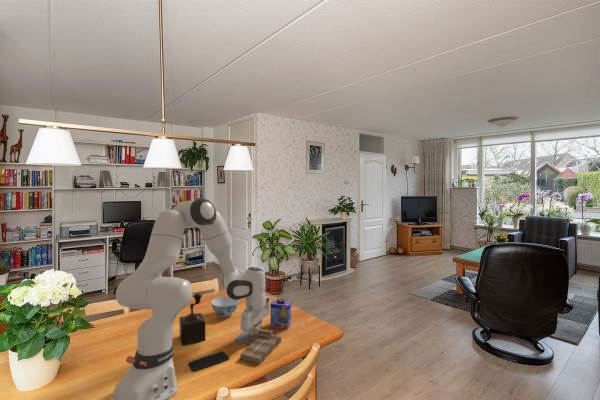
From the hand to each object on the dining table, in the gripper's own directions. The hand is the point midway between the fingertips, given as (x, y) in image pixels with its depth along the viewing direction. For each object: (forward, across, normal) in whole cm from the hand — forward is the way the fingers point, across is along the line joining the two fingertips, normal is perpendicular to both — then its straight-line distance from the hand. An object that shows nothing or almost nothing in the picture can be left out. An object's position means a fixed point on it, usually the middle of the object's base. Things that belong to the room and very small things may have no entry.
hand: (255, 331), depth 140 cm
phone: (+4, -23, +8) cm, 25 cm away
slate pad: (+4, 0, +3) cm, 5 cm away
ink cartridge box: (+4, +17, -5) cm, 18 cm away
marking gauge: (+3, 0, -3) cm, 4 cm away
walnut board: (+4, -7, -8) cm, 11 cm away
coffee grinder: (+4, -9, +29) cm, 31 cm away
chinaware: (+4, +17, +29) cm, 34 cm away
